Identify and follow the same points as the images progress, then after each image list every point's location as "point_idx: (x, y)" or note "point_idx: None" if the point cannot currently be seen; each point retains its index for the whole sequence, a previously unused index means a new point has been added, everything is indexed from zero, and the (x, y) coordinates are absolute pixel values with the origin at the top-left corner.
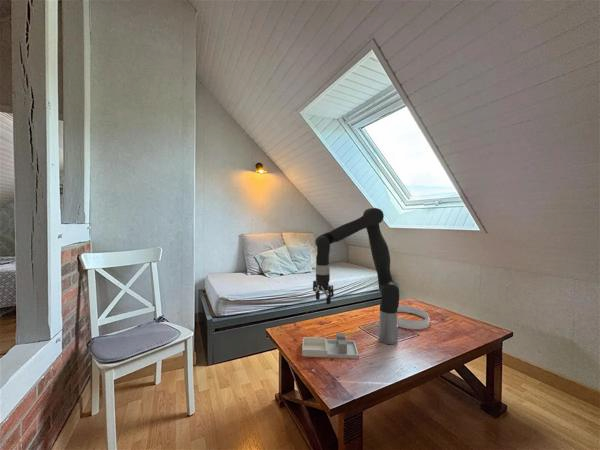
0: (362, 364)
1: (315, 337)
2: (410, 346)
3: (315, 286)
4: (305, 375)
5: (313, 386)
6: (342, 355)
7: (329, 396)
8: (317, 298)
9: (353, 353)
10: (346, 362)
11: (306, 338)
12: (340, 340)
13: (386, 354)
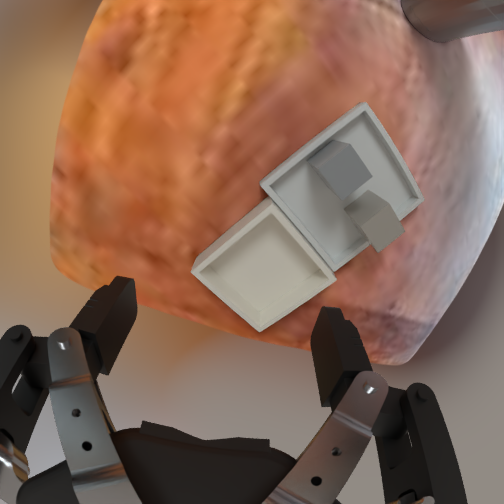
0: (432, 213)
1: (231, 237)
2: None
3: (21, 420)
4: None
5: None
6: None
7: (394, 354)
8: (130, 318)
9: (395, 181)
10: None
11: (205, 265)
12: (370, 223)
13: (464, 109)
